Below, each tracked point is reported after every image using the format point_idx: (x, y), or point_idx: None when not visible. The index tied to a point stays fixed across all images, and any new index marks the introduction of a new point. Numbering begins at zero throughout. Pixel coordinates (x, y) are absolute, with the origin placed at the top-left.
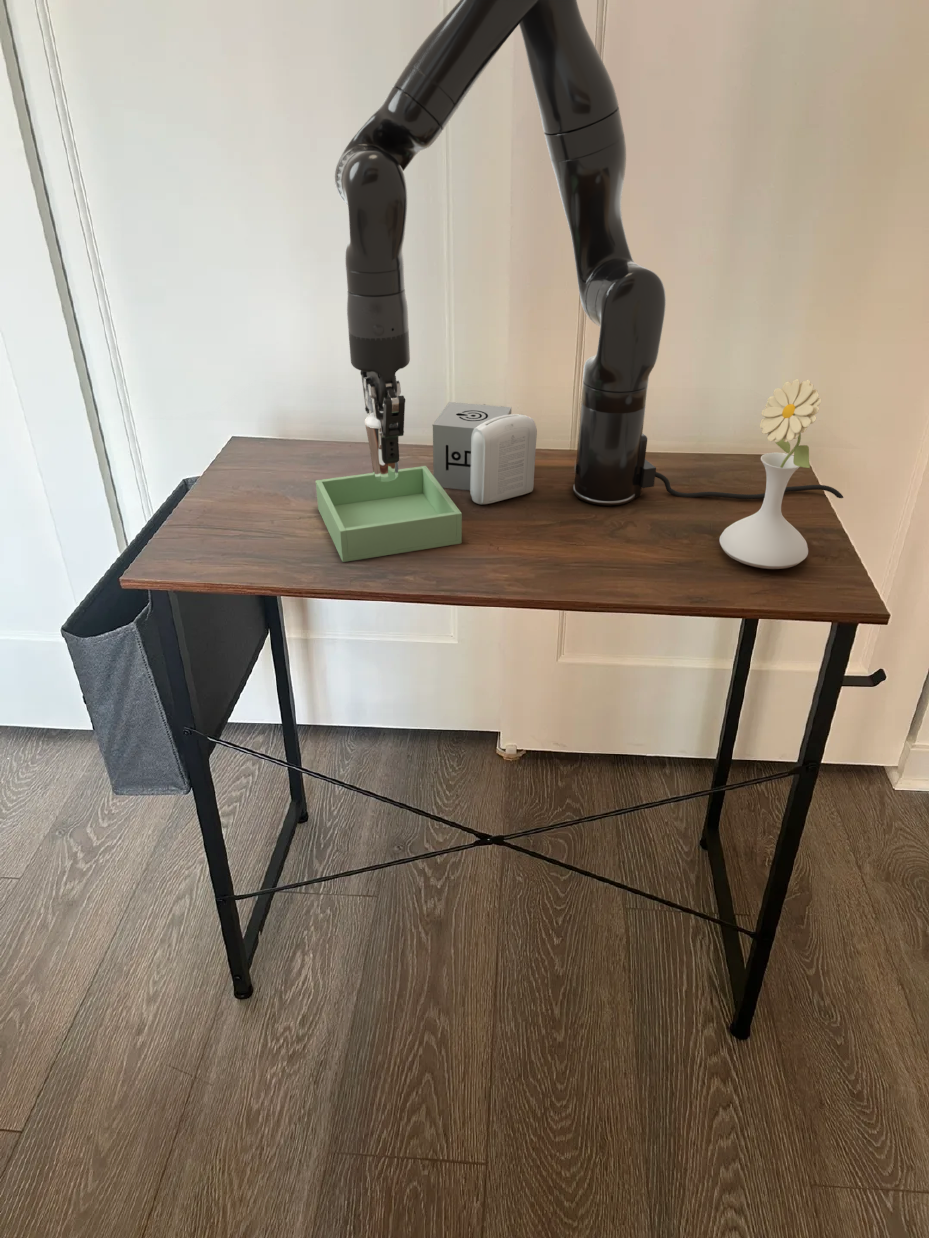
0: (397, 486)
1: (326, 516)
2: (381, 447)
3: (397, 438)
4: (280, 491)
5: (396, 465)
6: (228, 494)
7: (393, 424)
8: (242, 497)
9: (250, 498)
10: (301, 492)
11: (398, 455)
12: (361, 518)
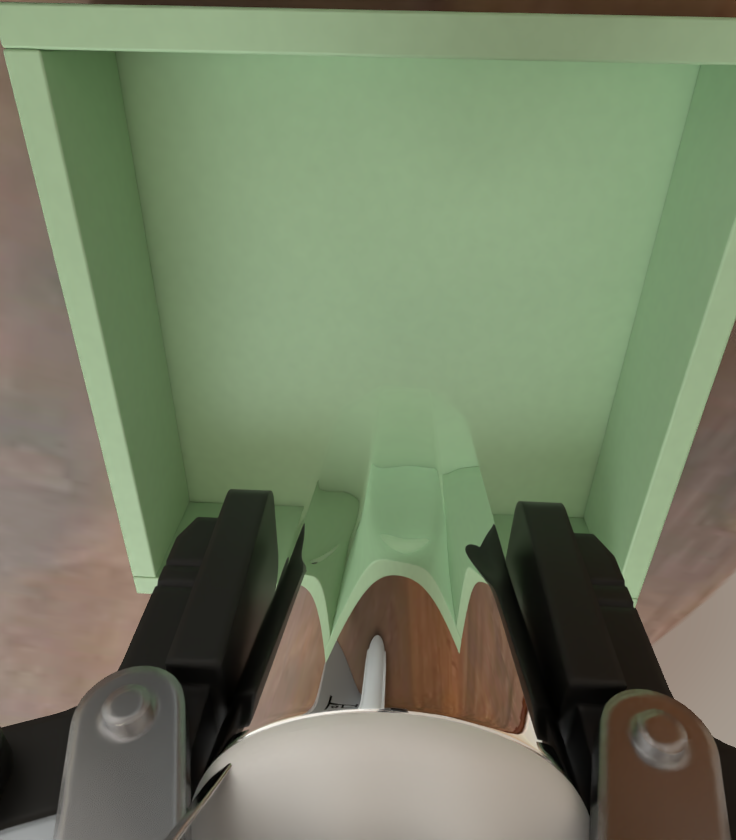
0: (119, 217)
1: None
2: None
3: (614, 665)
4: (13, 573)
5: (455, 448)
6: (28, 681)
7: (584, 817)
8: (52, 659)
9: (62, 645)
10: (25, 523)
11: (571, 533)
12: (325, 410)
